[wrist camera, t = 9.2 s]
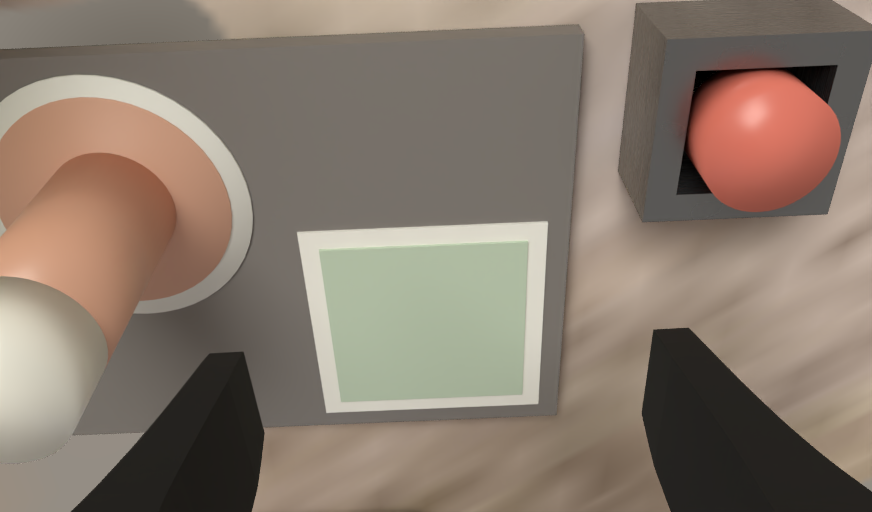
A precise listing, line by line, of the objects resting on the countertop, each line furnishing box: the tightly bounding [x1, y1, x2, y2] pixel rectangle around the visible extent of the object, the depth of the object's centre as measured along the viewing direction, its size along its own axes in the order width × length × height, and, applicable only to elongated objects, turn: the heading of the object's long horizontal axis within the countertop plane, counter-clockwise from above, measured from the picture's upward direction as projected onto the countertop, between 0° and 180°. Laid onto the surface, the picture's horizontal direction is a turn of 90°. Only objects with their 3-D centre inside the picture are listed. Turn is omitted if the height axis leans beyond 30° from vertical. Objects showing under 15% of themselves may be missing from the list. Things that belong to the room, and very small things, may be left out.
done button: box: [684, 67, 841, 212], centre depth 19 cm, size 3×3×2 cm
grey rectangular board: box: [0, 25, 584, 435], centre depth 24 cm, size 14×18×1 cm
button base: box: [618, 0, 872, 222], centre depth 20 cm, size 5×5×3 cm
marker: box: [0, 153, 177, 464], centre depth 19 cm, size 4×4×8 cm
